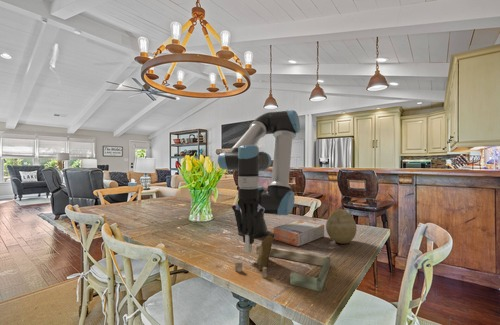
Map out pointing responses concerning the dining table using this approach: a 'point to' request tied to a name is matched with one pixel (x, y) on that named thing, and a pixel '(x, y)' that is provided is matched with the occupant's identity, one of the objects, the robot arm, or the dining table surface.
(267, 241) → the rock
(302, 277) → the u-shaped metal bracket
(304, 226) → the cracker box
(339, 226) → the fossilized egg
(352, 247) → the dining table surface
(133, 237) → the dining table surface
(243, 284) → the dining table surface
